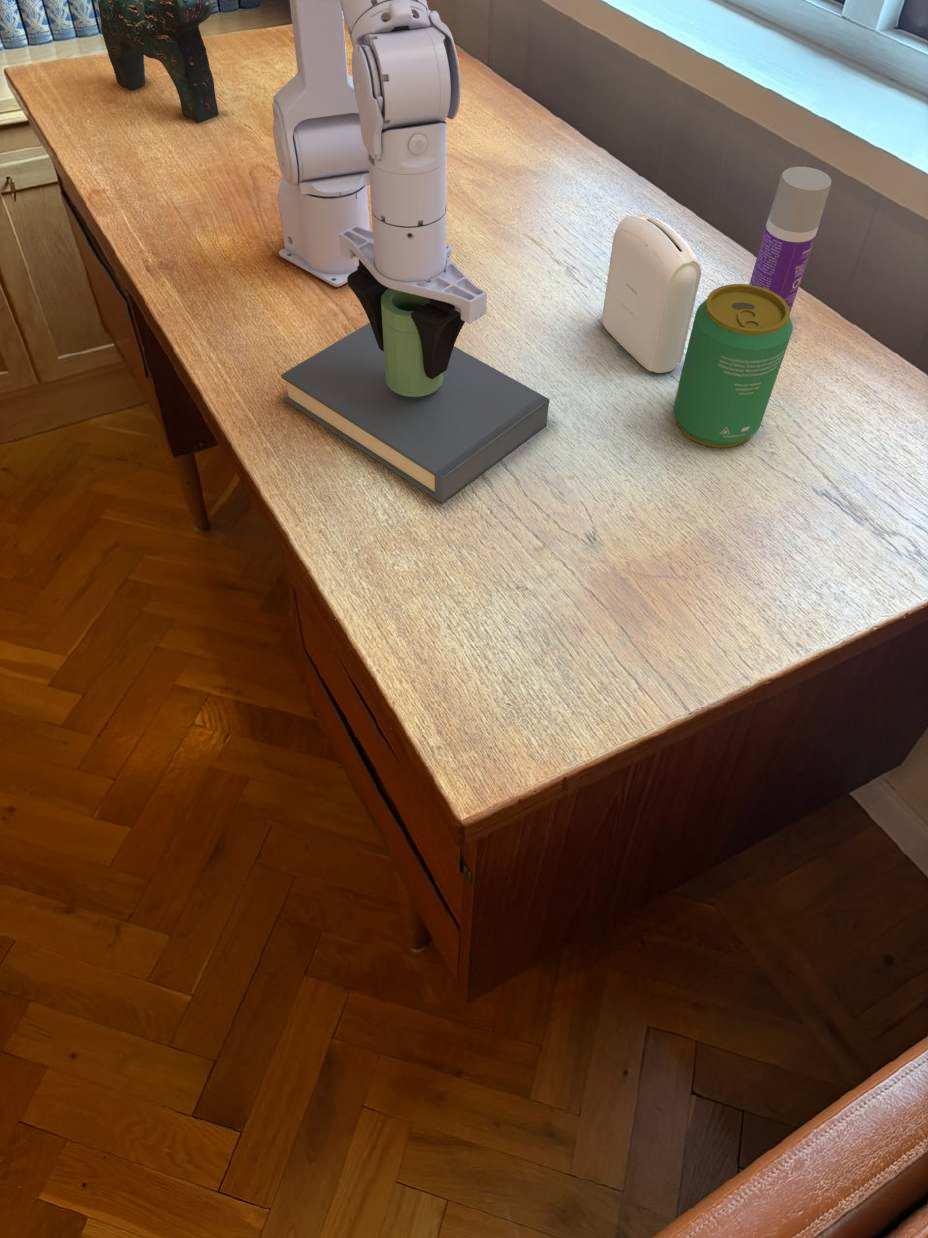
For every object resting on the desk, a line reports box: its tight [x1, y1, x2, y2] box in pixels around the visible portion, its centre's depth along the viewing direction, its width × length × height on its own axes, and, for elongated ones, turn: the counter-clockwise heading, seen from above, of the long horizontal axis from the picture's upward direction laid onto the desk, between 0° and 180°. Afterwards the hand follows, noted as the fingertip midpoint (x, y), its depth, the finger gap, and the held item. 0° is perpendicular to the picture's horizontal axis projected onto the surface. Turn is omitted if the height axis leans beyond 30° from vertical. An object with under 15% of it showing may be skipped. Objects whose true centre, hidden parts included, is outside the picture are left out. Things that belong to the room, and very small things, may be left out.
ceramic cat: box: [97, 0, 219, 123], centre depth 118 cm, size 20×6×20 cm, turn 49°
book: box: [280, 322, 551, 505], centre depth 85 cm, size 20×14×3 cm
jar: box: [381, 288, 443, 397], centre depth 80 cm, size 5×5×8 cm
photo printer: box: [601, 212, 702, 374], centre depth 89 cm, size 10×4×12 cm, turn 26°
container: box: [748, 166, 832, 313], centre depth 90 cm, size 5×5×15 cm
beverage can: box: [672, 283, 794, 449], centre depth 82 cm, size 8×8×12 cm
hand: (413, 359), depth 82 cm, fingers closed on jar, 5 cm apart
